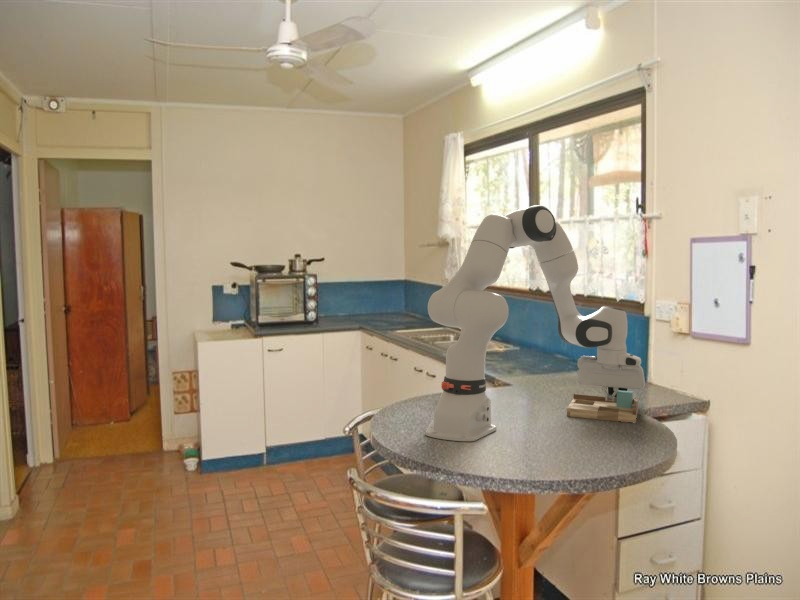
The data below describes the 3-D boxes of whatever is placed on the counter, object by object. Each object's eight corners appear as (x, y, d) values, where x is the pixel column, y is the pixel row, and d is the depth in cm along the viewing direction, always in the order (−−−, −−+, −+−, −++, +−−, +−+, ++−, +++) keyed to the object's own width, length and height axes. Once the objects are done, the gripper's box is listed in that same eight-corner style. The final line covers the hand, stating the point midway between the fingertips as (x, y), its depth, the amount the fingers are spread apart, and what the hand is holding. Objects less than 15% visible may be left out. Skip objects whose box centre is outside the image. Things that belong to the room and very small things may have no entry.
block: (631, 408, 194) (632, 394, 194) (616, 406, 196) (616, 392, 196) (632, 405, 198) (632, 391, 198) (617, 404, 200) (617, 390, 200)
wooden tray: (635, 423, 186) (636, 408, 185) (566, 415, 193) (567, 401, 193) (637, 411, 200) (638, 398, 200) (573, 405, 208) (573, 392, 208)
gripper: (576, 356, 199) (574, 399, 200) (645, 361, 191) (643, 406, 192) (578, 353, 205) (577, 395, 206) (645, 358, 197) (643, 401, 198)
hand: (609, 400), depth 199 cm, fingers closed
